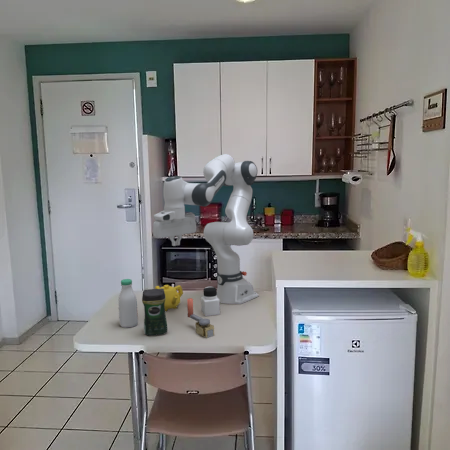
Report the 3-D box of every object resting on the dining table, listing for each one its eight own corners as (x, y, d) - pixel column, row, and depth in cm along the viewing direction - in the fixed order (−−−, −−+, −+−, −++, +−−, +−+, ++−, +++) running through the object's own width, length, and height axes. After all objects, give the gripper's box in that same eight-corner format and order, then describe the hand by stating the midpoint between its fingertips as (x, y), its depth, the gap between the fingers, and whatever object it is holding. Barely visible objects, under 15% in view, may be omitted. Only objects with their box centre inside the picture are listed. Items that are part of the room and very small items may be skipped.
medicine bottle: (220, 314, 195) (219, 289, 193) (205, 316, 193) (204, 291, 191) (216, 309, 202) (215, 284, 200) (201, 311, 200) (200, 286, 198)
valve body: (194, 331, 177) (194, 322, 176) (204, 328, 180) (204, 319, 179) (205, 338, 170) (205, 328, 170) (215, 334, 173) (215, 325, 173)
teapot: (140, 306, 208) (139, 284, 206) (172, 298, 218) (171, 277, 216) (161, 318, 192) (160, 294, 190) (194, 309, 203) (193, 286, 201)
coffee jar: (167, 327, 182) (165, 285, 178) (167, 335, 174) (165, 291, 171) (144, 329, 180) (141, 287, 177) (143, 337, 173) (141, 293, 169)
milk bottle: (137, 327, 183) (135, 282, 179) (119, 328, 182) (116, 283, 178) (138, 320, 190) (135, 277, 187) (120, 321, 189) (117, 278, 186)
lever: (212, 323, 174) (211, 305, 173) (203, 326, 171) (202, 308, 170) (193, 314, 184) (192, 297, 183) (184, 317, 181) (184, 299, 180)
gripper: (190, 211, 194) (191, 241, 196) (150, 215, 181) (151, 247, 184) (198, 212, 189) (199, 243, 191) (157, 217, 176) (159, 250, 179)
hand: (175, 245), depth 187 cm, fingers closed
